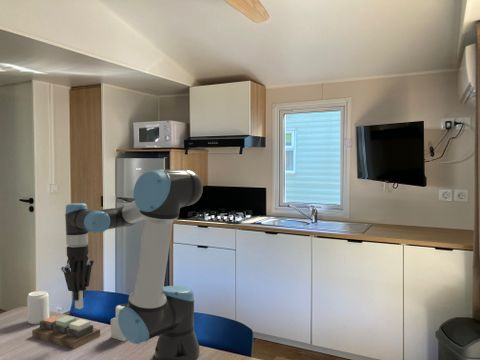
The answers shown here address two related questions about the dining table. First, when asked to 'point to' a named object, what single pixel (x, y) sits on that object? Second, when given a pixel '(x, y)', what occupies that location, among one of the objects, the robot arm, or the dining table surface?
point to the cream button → (79, 325)
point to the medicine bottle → (117, 325)
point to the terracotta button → (51, 319)
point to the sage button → (65, 321)
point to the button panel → (65, 334)
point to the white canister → (37, 306)
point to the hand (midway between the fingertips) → (79, 307)
